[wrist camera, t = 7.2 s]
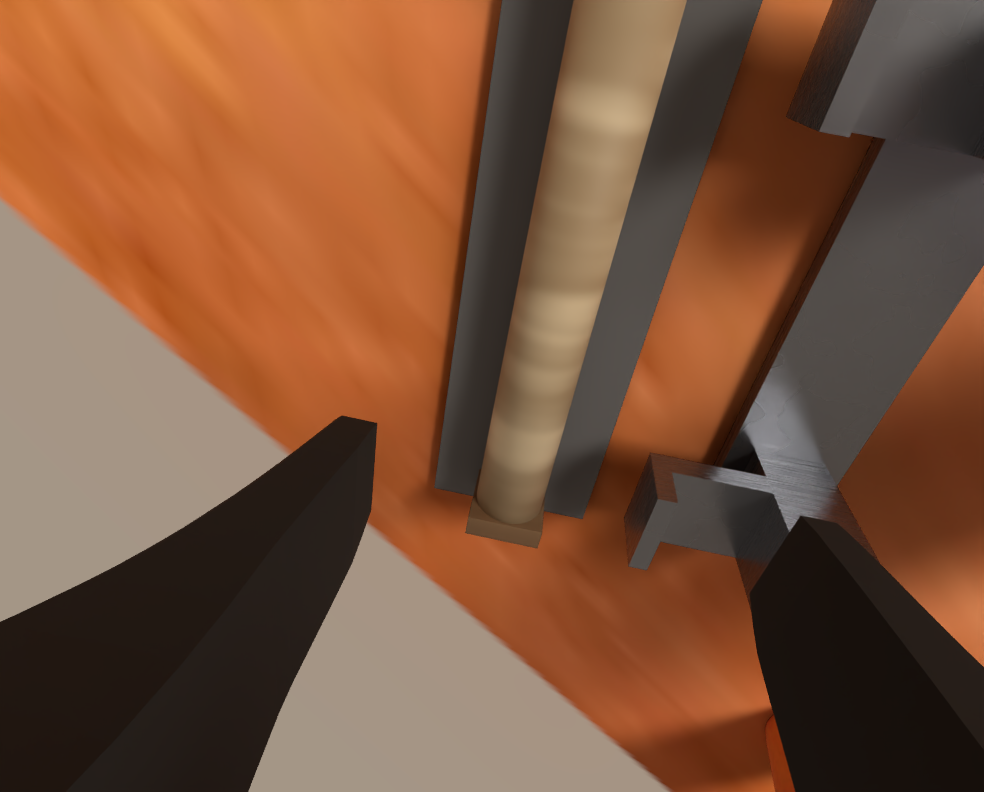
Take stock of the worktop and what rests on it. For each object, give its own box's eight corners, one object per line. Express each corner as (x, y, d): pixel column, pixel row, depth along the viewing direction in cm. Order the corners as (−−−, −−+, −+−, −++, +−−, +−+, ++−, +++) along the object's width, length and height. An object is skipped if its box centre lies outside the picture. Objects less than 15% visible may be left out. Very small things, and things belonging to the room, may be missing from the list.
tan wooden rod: (603, -171, 12) (607, -214, 10) (725, -149, 12) (756, -187, 10) (476, 484, 22) (465, 532, 20) (541, 498, 22) (537, 548, 20)
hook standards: (1159, -34, 12) (1551, -77, 7) (790, 536, 22) (851, 683, 17) (838, -94, 13) (1008, -174, 8) (613, 499, 22) (623, 634, 17)
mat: (814, -164, 12) (821, -170, 12) (582, 512, 23) (582, 519, 23) (533, -214, 12) (532, -222, 12) (436, 481, 23) (434, 487, 23)
